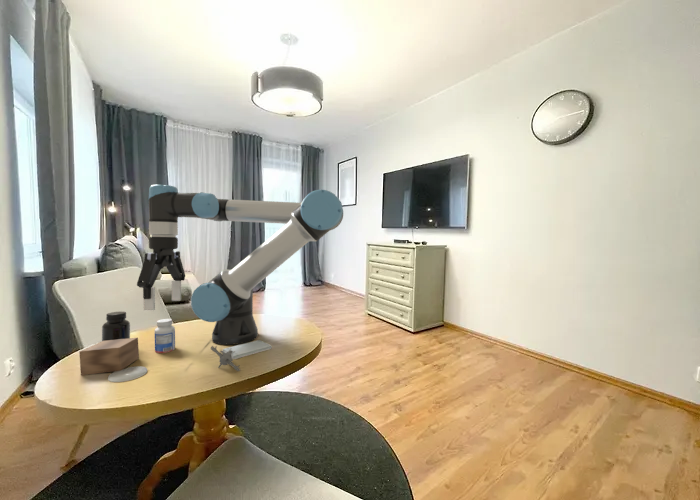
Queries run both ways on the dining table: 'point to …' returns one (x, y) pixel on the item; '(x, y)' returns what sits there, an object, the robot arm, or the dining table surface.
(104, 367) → the walnut block
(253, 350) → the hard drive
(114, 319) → the supplement bottle
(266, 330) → the dining table surface
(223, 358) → the grey cross-shaped piece
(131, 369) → the grey coaster
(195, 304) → the robot arm
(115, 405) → the dining table surface
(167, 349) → the pill bottle
